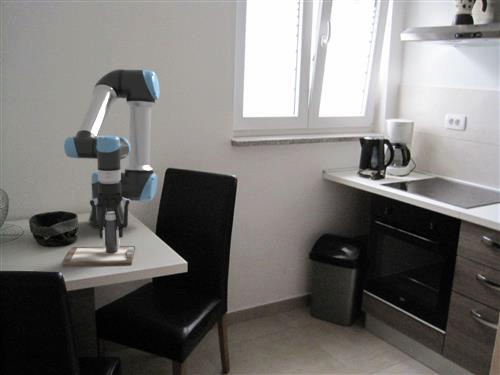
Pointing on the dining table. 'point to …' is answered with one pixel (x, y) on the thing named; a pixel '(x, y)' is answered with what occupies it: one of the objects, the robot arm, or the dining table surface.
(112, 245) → the marker
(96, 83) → the robot arm
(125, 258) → the clipboard
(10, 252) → the dining table surface
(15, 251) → the dining table surface
